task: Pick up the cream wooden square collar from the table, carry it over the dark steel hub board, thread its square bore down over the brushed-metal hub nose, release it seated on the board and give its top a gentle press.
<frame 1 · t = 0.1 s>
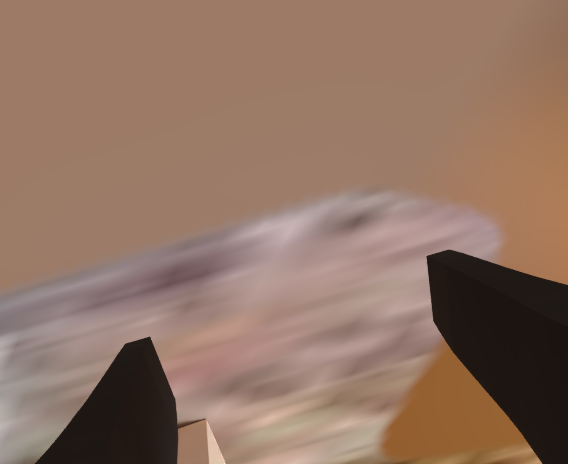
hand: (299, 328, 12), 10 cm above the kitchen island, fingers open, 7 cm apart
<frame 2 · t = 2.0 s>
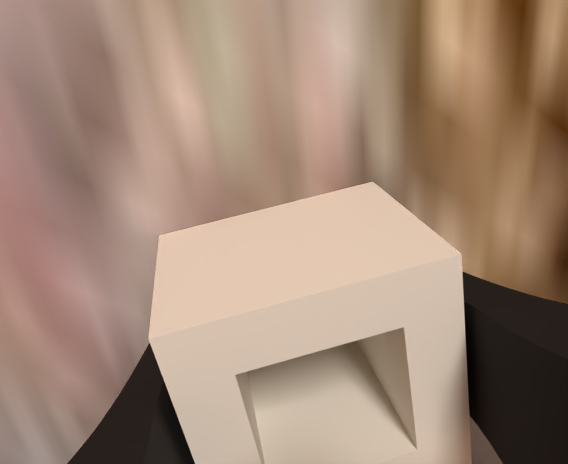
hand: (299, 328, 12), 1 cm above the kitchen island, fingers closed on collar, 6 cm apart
collar: (288, 300, 14), on the kitchen island, touching gripper
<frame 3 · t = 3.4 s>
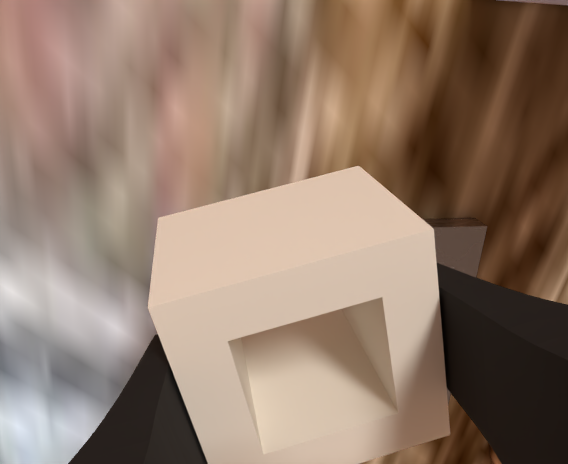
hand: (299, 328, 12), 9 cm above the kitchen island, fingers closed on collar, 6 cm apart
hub: (317, 338, 24), on the kitchen island
collar: (281, 278, 15), point 7 cm above the kitchen island, touching gripper
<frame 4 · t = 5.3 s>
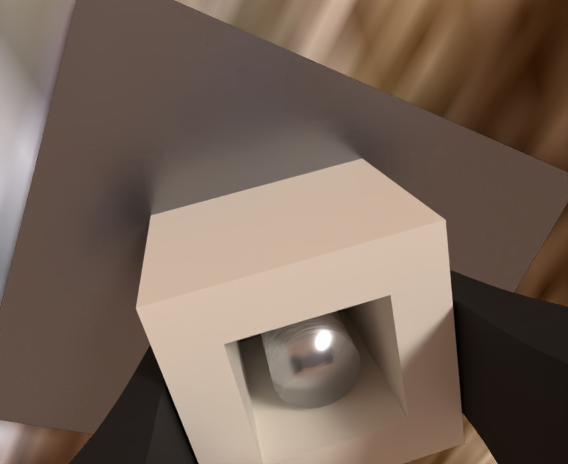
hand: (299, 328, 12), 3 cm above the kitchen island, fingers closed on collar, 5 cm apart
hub: (280, 277, 15), on the kitchen island
collar: (281, 279, 14), point 1 cm above the kitchen island, touching gripper, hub
when the fingers open (3 cm above the kitchen island, at t = 5.6 s): collar stays where it is, resting on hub.
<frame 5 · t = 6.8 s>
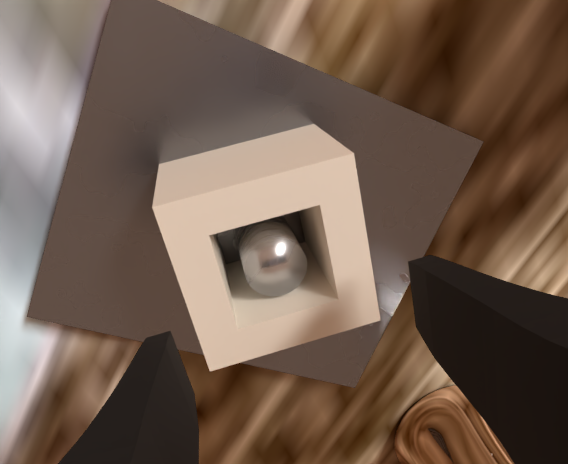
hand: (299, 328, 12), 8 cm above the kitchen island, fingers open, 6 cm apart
beer glass: (445, 427, 26), on the kitchen island
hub: (256, 217, 20), on the kitchen island
collar: (256, 215, 19), point 1 cm above the kitchen island, touching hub
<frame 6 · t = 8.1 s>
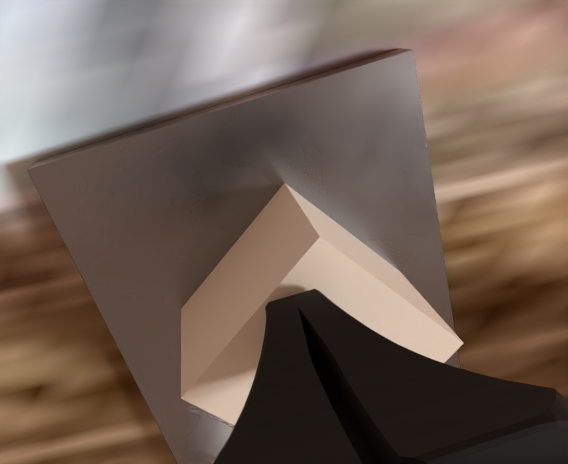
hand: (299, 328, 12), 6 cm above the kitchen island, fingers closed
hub: (280, 286, 19), on the kitchen island
collar: (294, 289, 18), point 1 cm above the kitchen island, touching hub
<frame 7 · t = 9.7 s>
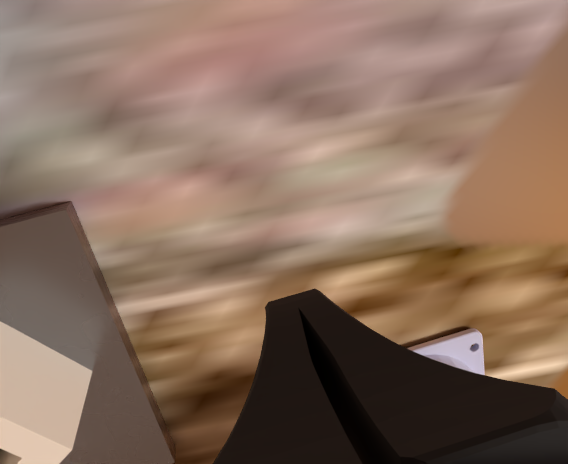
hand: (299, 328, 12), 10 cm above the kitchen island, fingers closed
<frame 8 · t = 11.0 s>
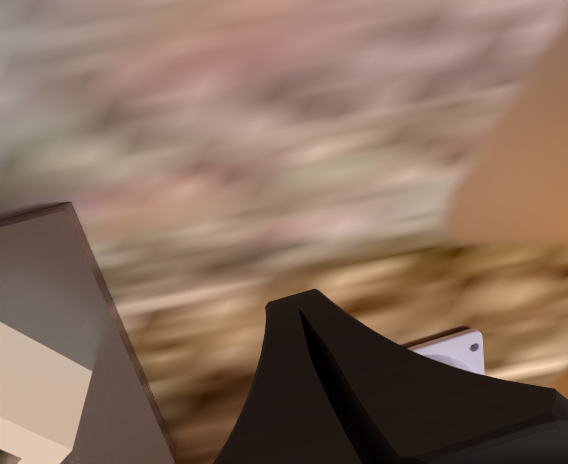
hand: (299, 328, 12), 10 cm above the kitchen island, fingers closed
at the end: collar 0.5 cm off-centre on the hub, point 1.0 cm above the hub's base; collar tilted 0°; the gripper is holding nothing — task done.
